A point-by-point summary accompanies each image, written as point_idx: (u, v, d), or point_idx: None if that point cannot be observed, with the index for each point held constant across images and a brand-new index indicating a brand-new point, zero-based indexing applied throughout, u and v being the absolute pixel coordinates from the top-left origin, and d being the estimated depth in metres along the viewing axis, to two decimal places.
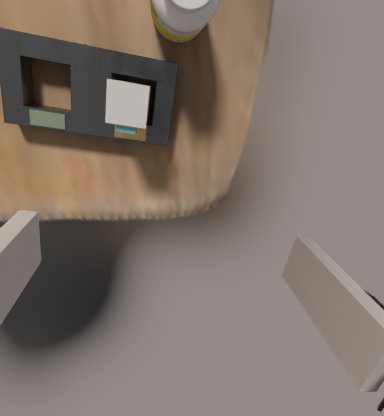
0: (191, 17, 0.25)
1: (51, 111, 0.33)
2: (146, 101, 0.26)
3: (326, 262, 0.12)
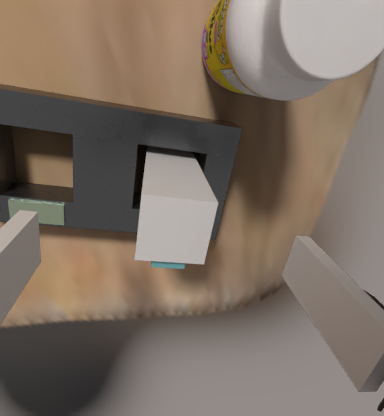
0: (305, 82, 0.13)
1: (42, 201, 0.21)
2: (209, 225, 0.15)
3: (326, 262, 0.12)
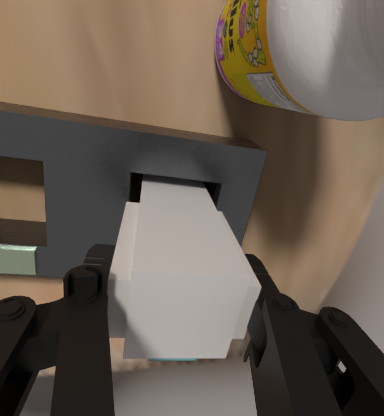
0: None
1: (6, 246, 0.16)
2: (236, 308, 0.10)
3: None
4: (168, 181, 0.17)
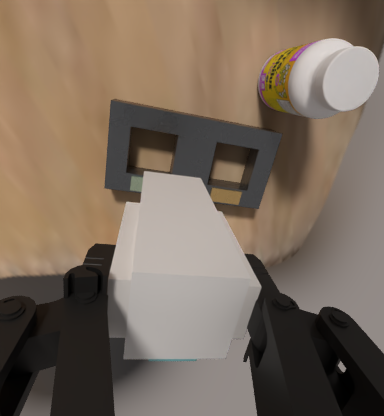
0: (329, 110, 0.24)
1: None
2: (236, 309, 0.10)
3: None
4: (168, 182, 0.17)
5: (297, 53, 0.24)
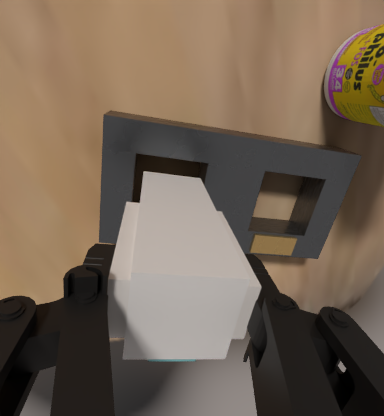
0: None
1: None
2: (236, 309, 0.10)
3: None
4: (168, 182, 0.17)
5: None
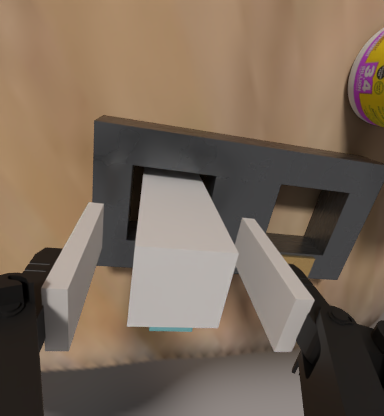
0: None
1: None
2: (226, 281, 0.11)
3: (261, 239, 0.13)
4: (167, 175, 0.18)
5: None
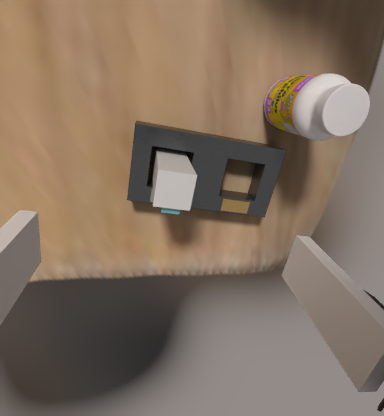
0: (328, 133, 0.28)
1: None
2: (192, 187, 0.28)
3: (326, 262, 0.12)
4: (168, 152, 0.35)
5: (300, 85, 0.28)
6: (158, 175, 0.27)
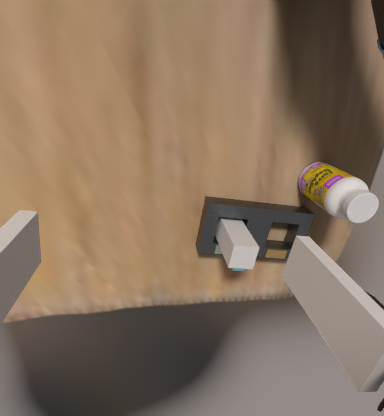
0: None
1: None
2: (256, 255, 0.41)
3: (326, 262, 0.12)
4: (229, 218, 0.48)
5: (329, 182, 0.41)
6: (234, 248, 0.40)
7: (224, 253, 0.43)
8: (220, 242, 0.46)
